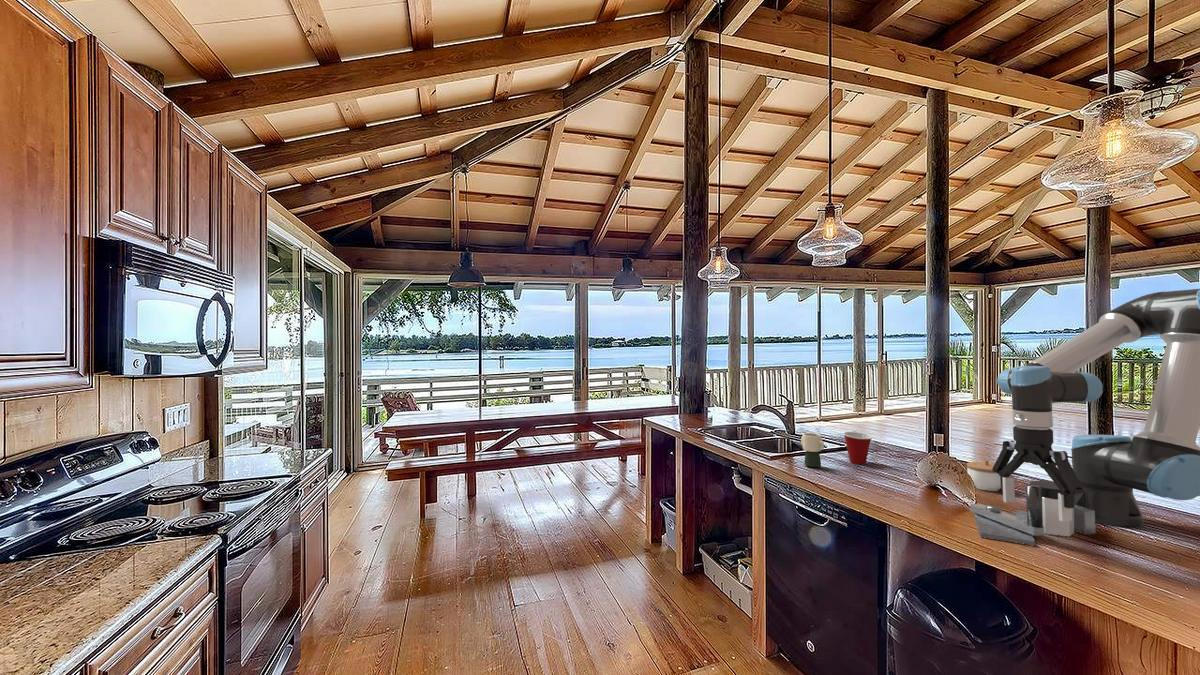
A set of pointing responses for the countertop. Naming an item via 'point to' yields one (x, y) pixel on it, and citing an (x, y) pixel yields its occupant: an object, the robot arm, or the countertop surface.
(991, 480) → the lidded jar
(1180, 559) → the countertop surface
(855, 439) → the plastic cup
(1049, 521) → the jar
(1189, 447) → the robot arm
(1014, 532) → the press base
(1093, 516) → the backstop
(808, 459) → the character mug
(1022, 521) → the lever
